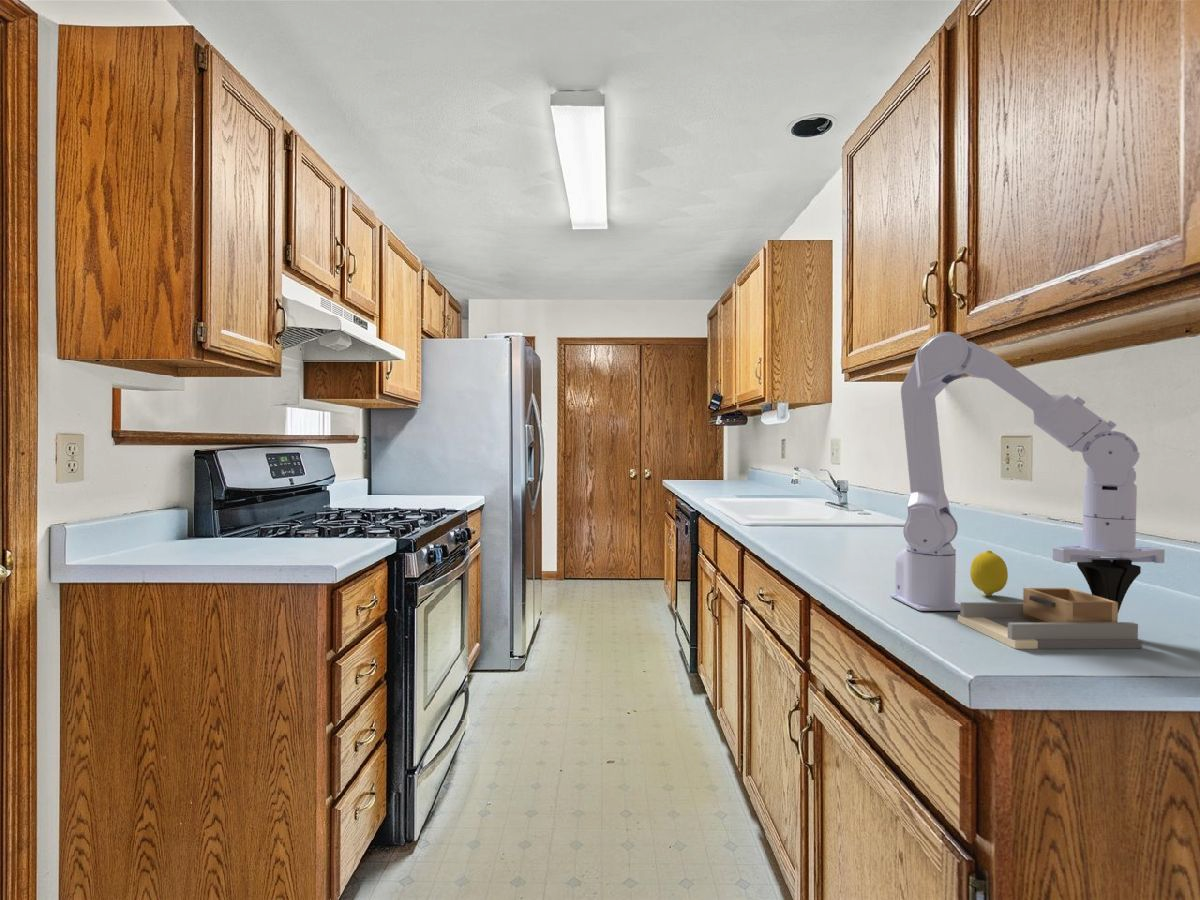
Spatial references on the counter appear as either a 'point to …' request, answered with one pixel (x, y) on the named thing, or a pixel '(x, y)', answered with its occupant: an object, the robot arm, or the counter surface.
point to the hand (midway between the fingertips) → (1107, 613)
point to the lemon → (989, 572)
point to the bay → (1044, 629)
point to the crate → (1067, 606)
